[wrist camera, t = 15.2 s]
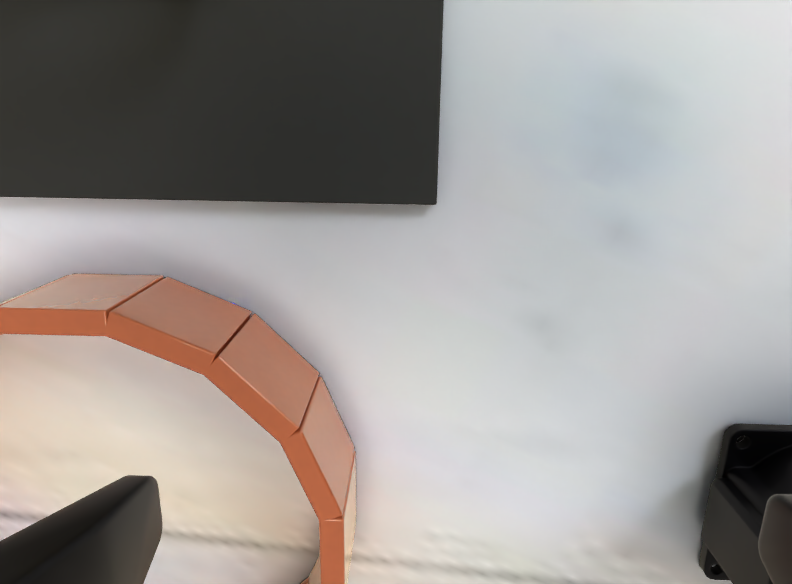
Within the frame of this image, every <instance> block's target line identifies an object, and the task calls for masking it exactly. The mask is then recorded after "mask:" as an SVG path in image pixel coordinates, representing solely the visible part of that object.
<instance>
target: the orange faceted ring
mask: <svg viewBox="0 0 792 584" xmlns="http://www.w3.org/2000/svg"><path fill="white" fill-rule="evenodd" d="M251 313H252V312H251V311H250V310H247V309H245V308H242V307H240V306H238V305H235V304H233V303H230V302H228V301H225V300H223V299H220V298H218V297H216V296H213V295H211V294H208V293H206V292H203V291H201V290H199V289H196V288H194V287H191V286H189V285H186V284H184V283H182V282H179V281H177V280H174V279H172V278H169V277H165V278H164V277H163V276H162V275H119V274H72V275H66V276H64V277H62V278H59V279H57V280H54V281H52V282H49V283H47V284H44V285H42V286H40V287H37V288H35V289H32V290H30V291H27V292H25V293H22V294H20V295H18V296H15V297H13V298H10V299H8V300H5V301H3V302H1V303H0V335H2V334H37V335H78V336H107V337H109V338H112V339H114V340H117V341H119V342H122V343H124V344H127V345H130V346H132V347H135V348H137V349H140V350H142V351H145V352H147V353H150V354H152V355H155V356H157V357H160V358H162V359H165V360H167V361H170V362H172V363H175V364H177V365H180V366H182V367H185V368H187V369H190V370H192V371H195V372H197V373H200V374H203V375H204V376H205V377H206V378H208V379H209V380H210V381H211V382H212V383H213V384H214V385H215V386H217V387H218V388H219V389H220V390H221V391H222V392H223V393H224V394H226V395H227V396H228V397H229V398H230V399H231V400H232V401H234V402H235V403H236V404H237V405H238V406H239V407H240V408H241V409H243V410H244V411H245V412H246V413H247V414H248V415H249V416H250V417H252V418H253V419H254V420H255V421H256V422H257V423H258V424H260V425H261V426H262V427H263V428H264V429H265V430H266V431H267V432H269V433H270V434H271V435H272V436H273V437H274V438H275V439H277V440H278V441H279V442H280V443H281V445H282V447H283V449H284V451H285V453H286V455H287V457H288V459H289V461H290V463H291V465H292V467H293V469H294V471H295V473H296V475H297V477H298V479H299V481H300V483H301V485H302V487H303V489H304V491H305V493H306V495H307V497H308V499H309V501H310V503H311V505H312V507H313V509H314V511H315V513H316V515H317V517H318V519H319V543H320V555H319V557H318V559H317V561H316V563H315V565H314V567H313V569H312V571H311V573H310V576H309V577H308V578H307V579H306V580H304V581H303V582H302V583H301V584H347V582H348V575H349V568H350V561H351V555H352V548H353V541H354V534H355V527H356V452H355V451H354V445H353V443H352V441H351V439H350V436H349V434H348V432H347V430H346V428H345V426H344V424H343V421H342V419H341V417H340V415H339V413H338V411H337V409H336V406H335V404H334V402H333V400H332V398H331V396H330V394H329V391H328V389H327V387H326V385H325V383H324V381H323V379H322V377H318V376H319V372H318V371H317V370H316V369H315V368H313V367H312V366H311V365H310V364H309V363H308V362H307V361H306V360H305V359H304V358H303V357H302V356H301V355H299V354H298V353H297V352H296V351H295V350H294V349H293V348H292V347H291V346H290V345H289V344H288V343H287V342H286V341H284V340H283V339H282V338H281V337H280V336H279V335H278V334H277V333H276V332H275V331H274V330H273V329H272V328H270V327H269V326H268V325H267V324H266V323H265V322H264V321H263V320H262V319H261V318H260V317H259V316H258V315H256V314H253V315H252V316H251ZM250 316H251V317H250Z"/></svg>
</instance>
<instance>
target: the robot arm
mask: <svg viewBox="0 0 792 584" xmlns="http://www.w3.org/2000/svg"><path fill="white" fill-rule="evenodd" d="M740 436H744V438H743V440H742V441H740V442H736V441H737V439H738V438H739V437H740ZM161 534H162V515H161V507H160V498H159V489H158V484H157V481H156V479H155V478H153V477H152V476H134V475H129V476H125V477H122V478H121V479H119V480H117V481H115V482H113V483H111V484H109V485H107V486H105V487H103V488H101V489H99V490H98V491H96V492H94V493H92V494H90V495H88V496H86V497H84V498H82V499H80V500H78V501H76V502H75V503H73V504H71V505H69V506H67V507H65V508H63V509H61V510H59V511H57V512H55V513H53V514H52V515H50V516H48V517H46V518H44V519H42V520H40V521H38V522H36V523H34V524H32V525H31V526H29V527H27V528H25V529H23V530H21V531H19V532H17V533H15V534H13V535H11V536H9V537H8V538H6V539H4V540H2V541H0V584H143V583H144V580H145V578H146V575H147V572H148V570H149V567H150V565H151V562H152V560H153V557H154V554H155V552H156V549H157V547H158V544H159V541H160V538H161ZM701 539H702V540H703V544H702V549H701V554H700V559H699V565H700V567H701V569H702V570H703V572H704V573H705V575H706V576H707V577H708V578H710V579H714V580H730V581H731V582H732V584H792V425H764V424H735V425H733V426H731V427H729V428H728V429H727V430H726V431H725V433H724V436H723V441H722V446H721V451H720V456H719V461H718V466H717V472H716V477H715V479H714V481H713V482H712V483H711V487H710V492H709V497H708V502H707V508H706V513H705V518H704V523H703V528H702V534H701ZM714 564H717V565H716V566H713V565H714ZM712 566H713V567H712Z"/></svg>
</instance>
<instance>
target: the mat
mask: <svg viewBox="0 0 792 584" xmlns="http://www.w3.org/2000/svg"><path fill="white" fill-rule="evenodd" d="M443 1H444V0H0V197H48V198H102V199H155V200H209V201H262V202H316V203H369V204H423V205H435V204H436V203H437V176H438V146H439V117H440V88H441V59H442V30H443Z"/></svg>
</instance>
